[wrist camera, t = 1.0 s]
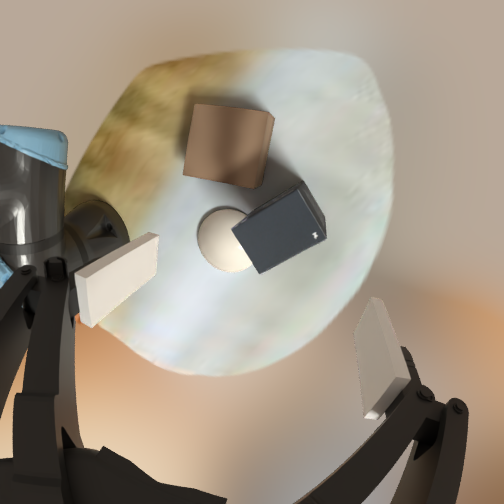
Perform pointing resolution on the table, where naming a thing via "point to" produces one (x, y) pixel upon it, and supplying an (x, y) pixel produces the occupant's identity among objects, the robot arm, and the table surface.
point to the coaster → (223, 241)
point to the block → (228, 145)
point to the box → (281, 228)
